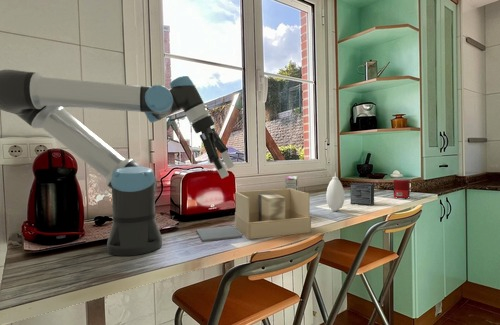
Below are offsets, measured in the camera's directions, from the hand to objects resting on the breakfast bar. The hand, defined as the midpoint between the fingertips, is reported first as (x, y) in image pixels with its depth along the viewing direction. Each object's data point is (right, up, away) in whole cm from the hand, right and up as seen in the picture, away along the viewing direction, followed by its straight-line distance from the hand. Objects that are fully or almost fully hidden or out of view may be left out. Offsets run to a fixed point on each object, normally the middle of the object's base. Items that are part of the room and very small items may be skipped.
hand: (228, 171), depth 108 cm
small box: (+65, -18, +43) cm, 80 cm away
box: (+16, -20, -2) cm, 26 cm away
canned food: (+93, -17, +60) cm, 112 cm away
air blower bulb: (+47, -19, +28) cm, 57 cm away
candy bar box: (+26, -19, +20) cm, 38 cm away
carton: (+16, -20, -2) cm, 26 cm away
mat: (-3, -21, -7) cm, 22 cm away
